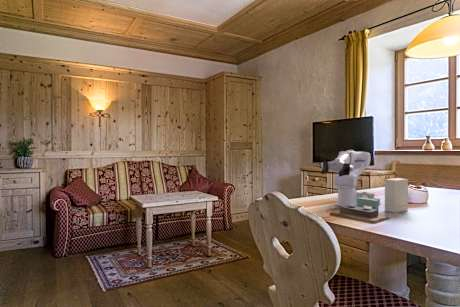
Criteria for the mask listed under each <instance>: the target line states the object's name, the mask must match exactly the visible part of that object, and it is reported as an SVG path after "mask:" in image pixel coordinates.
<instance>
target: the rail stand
mask: <svg viewBox="0 0 460 307" xmlns="http://www.w3.org/2000/svg"><path fill="white" fill-rule="evenodd" d="M329 215H331V216H335V217H341V218H345V219H350V220H355V221H359V222H364V223H370V224H376V223H380V222H383V221H386V220H389V219H390V216H389V215H384V214H378V210H374V209H372V208H367V207H364V208H362V207H357V205H356V206H350V205H346V206H339V210H333V211H330V212H329Z"/></svg>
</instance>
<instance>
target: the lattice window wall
mask: <svg viewBox="0 0 460 307" xmlns="http://www.w3.org/2000/svg"><path fill="white" fill-rule="evenodd" d="M375 196H376V194H375V193H369V192H367V191H362V192H359V191H357V198H359V197H361V198H368V199H375V200H379V205H380V204H381V200H382V199H381V198H376V197H375Z"/></svg>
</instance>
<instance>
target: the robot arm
mask: <svg viewBox="0 0 460 307" xmlns="http://www.w3.org/2000/svg"><path fill="white" fill-rule="evenodd" d="M371 159H372V157H371V154H370V152H367V151H355V150H353V149H348V150H346V151H339V152H338V155H337V157H336V158H334V160H331V161H327V160H324V161H322V163H321V164H320V165H321V166H320V167H321V175H325V174H327V173H328V174H329V171H332V172H334V173H336V174H335V175H334V178H333V183H334V185H335V187H336V188H337V203H334V206H338V207H341V206H346V205H350V206H356V207H357V192H358V191H357V190H356V188H355V187H357V184H358V177H359V176H360V175H361V174H362V173H363V172H364V170H365V168H368V166H369V165H370V164H371V161H372V160H371Z"/></svg>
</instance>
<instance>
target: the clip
mask: <svg viewBox="0 0 460 307" xmlns="http://www.w3.org/2000/svg"><path fill="white" fill-rule="evenodd" d="M379 205H380V204H379V200H375V199H368V198H367V197H366V198H365V197H363V198H361V197H359V198H357V205H356V207H362V208H365V207H370V208H371V209H374V210H378V214H379V213H380V212H379V207H380V206H379ZM364 206H365V207H364ZM379 215H380V214H379Z"/></svg>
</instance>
